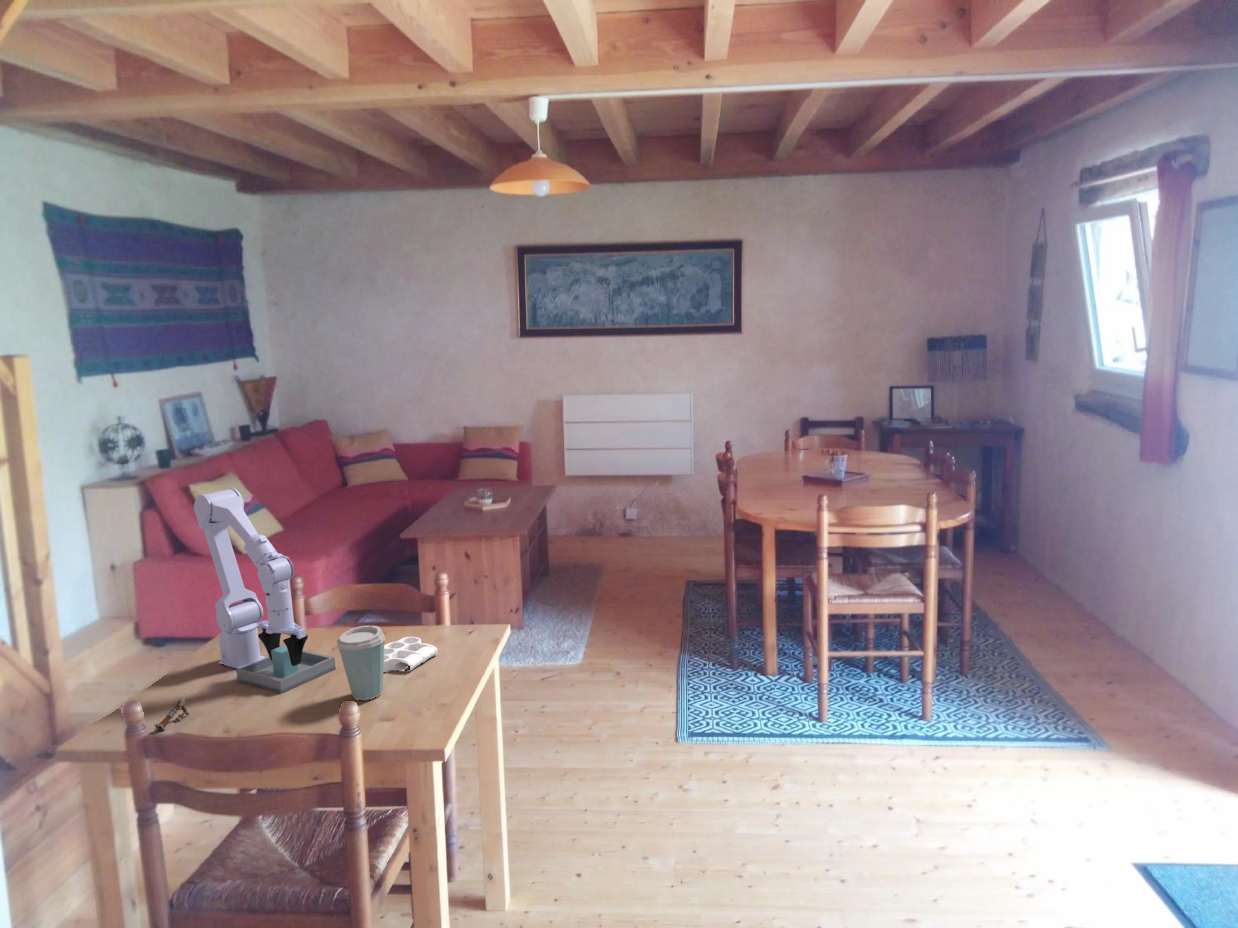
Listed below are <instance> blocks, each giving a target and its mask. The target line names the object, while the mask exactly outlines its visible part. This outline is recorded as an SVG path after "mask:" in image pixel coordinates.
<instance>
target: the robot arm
mask: <svg viewBox="0 0 1238 928" xmlns="http://www.w3.org/2000/svg"><path fill="white" fill-rule="evenodd" d="M244 501H245V500H244V498H243V496H242V494H241V493H240V492H239V490H237V489H236V488H234V487H231V488H228V489H224V490H220V491H215V492H210V493H205V494H202V493H201V494H198V495H197V496H196V498H195V501H194V503H193V510H194V514H195V516H196V517H195V518H196V520H197V523H198V527H199V529H201V530H203V531H204V535H205V538H206V541H207V545H208V548H209V551H210V555H211V558H212V562H213V565H214V568H215V572H216V575H217V579H218V582H219V584H220V588H221V591H222V595H221V597H220V598H219V599H218V600H217V602H216V603H215V604H214V608H215V613H216V617H215V619H216V623H217V625H218V627H219V629H220V630H221V632H220V635H219V637H218V638H219V640H218V641H219V649H220V658H221V659H220V661H219V662H218V664H219V663H220V664H219V665H221V664H224V665H223V666H225V665H226V667H229V668H233V669H236V670H237V669H239V668H242V667H244V666H246V665H249V664H251V663H254V662H256V661H259V660H261V659H264V658H266V657H267V656H264V655H261V651H260V650H261V649H260V641H261V643H262V644H263V645H264V647H265V649H266V652H267V655H268V657H270V659H271V661H272V654H271V650H273V649H276V648H278V647H281V645H280V644H281V643H280V642H281V636H282V635H287V636H290V637H287V638H284V639H283V640H282V641H283V643H284V645H286V647H287V649H288V652H289V656H290V661H291V664H292V666H295V665H298V664H300V663H301V657H302V651H303V650H304V647H305V644H306V642H307V640H308V637H309V636H308V634H307V633H306V628H305V627H302V626H300V625H298V624H297V623H296V622H295V619H294V610H293V600H292V592H291V583H290V582H291V581H290V580H291V579H292V578H293V577H294V573H295V570H294V565H293V563H292V560H291V559H290V557H289V556H286V555H283V554H282V553H279V552H278V551H277V549H275V547H274V545H273V544H272V542H270V541H269V539H268V538H267V537H266V536H265V535H264V534H259V533H258V532H257V530H256V529H255V527H254V525H253V523H252V522H251V521H250V519H249V517H248V515H247V513H246V512H245V510H244V509H245V502H244ZM229 527H231V528H232V530H233V531H234V532H235V533H236V534H237V535H238V536H239V537H240V539H241V540H242V541H243V543H244V546H243V549H244V551H245V553H246V555H247V556H248V557H249V558H250V560H251V562H252V563H253V564H254V565H255V567H256V568H257V572H256V574H257V578H258V580H259V582H260V585H261V590H262V592H263V593H264V594H265V604H266V612H267V619H266V620H263V617H264V608H263V606H262V604H261V602H260V601H259V598H258V597H257V593H256V592H254V591H252V590H249V589H247V588H246V587H245V585H244V582H243V579H242V575H241V571H240V569H239V565H238V561H237V558H236V555H235V551H234V549H233V548H234V547H233V544H232V542H231V539H230V535H229V532H228V529H229ZM240 601H241V602H240ZM236 602H238V603H236ZM233 603H235V604H233ZM231 604H232V605H231ZM258 627H259V631H261V633H259V632H258ZM259 640H260V641H259Z"/></svg>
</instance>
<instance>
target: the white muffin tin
mask: <svg viewBox="0 0 1238 928" xmlns="http://www.w3.org/2000/svg"><path fill="white" fill-rule="evenodd" d="M437 654H439V649H438V648H437V647H436V646H434V645H433V644H429V643H424V642H423V643H422V639H421V638H420V637H417V636H406V637H402V638H401V639H399V640H395V641H392V642H388V643H386V644H385V643H384V668H383V672H386V673H388V672H387V671H389V672H391V671H390V670H394V671H397V670H399V671H398V672H401V670H402V669H405V667H407V666H410V667H409V669H410V670H408V669H407V670H408V671H409V672H411V671H412V670H414V669H415V668H416V667H418V666H420V665H421V663H422V664H423V663H425V662H426V661H428V660H429V659H431V658H433V657H434V656H436V655H437ZM408 671H407V672H406V673H409V672H408Z"/></svg>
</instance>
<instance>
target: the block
mask: <svg viewBox="0 0 1238 928" xmlns="http://www.w3.org/2000/svg"><path fill="white" fill-rule="evenodd" d="M271 654H272V663H273V671H274V674H276V675H280V676H284V677H285V676H288V675H290V674H292V673H295V672H297V671H298V665H295V666H292V664H291V661H290V656H289V652H288V649H287V647H286V645H285V644H283V645H280V647H278V648H276V649H273V650H271Z"/></svg>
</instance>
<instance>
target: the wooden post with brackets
mask: <svg viewBox="0 0 1238 928" xmlns="http://www.w3.org/2000/svg"><path fill="white" fill-rule="evenodd" d="M185 701H186V700H185V698H181V699H179V700H177V701H176V703H175V706H174V707H173V708H171V710H169V712H168V713H167V714H166V716H165V718H164V719H163V720H161V721H160V722H159V723H155V724H154V726H155V728H156V729H157V731H159V730H160V731H165V732H166V727H167V726H168V724H169V722H170V721H171V720H172V719H173V718H174V717H175V716H176V714H178V711H182V712H181V714H178V715H177V717H176V718H174V719H175V723H179V722H181V721H182V720H183V719H185V718H184V716H185V715H186V716H189V715H190V712H189V710H188V709H187V708H186V706H185Z"/></svg>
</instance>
